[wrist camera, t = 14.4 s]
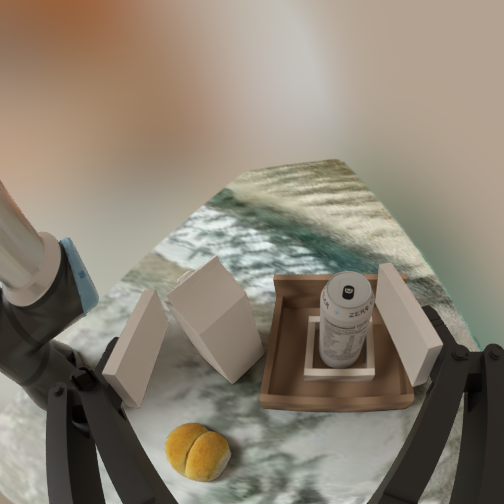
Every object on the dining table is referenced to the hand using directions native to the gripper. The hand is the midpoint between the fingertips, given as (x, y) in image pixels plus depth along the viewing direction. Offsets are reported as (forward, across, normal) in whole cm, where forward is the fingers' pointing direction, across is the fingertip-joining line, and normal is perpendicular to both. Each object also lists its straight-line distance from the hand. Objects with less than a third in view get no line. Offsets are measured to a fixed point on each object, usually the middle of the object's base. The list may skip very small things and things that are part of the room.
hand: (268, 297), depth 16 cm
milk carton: (+16, -8, -24) cm, 30 cm away
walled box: (+14, +8, -23) cm, 29 cm away
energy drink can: (+14, +8, -22) cm, 28 cm away
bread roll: (+1, -12, -28) cm, 30 cm away
